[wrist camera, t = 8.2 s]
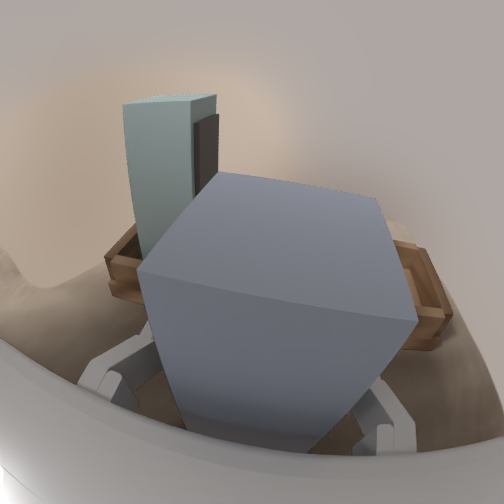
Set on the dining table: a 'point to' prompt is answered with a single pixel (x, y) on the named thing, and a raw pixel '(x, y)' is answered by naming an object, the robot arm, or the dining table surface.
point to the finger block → (274, 308)
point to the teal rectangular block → (168, 158)
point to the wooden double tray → (411, 257)
